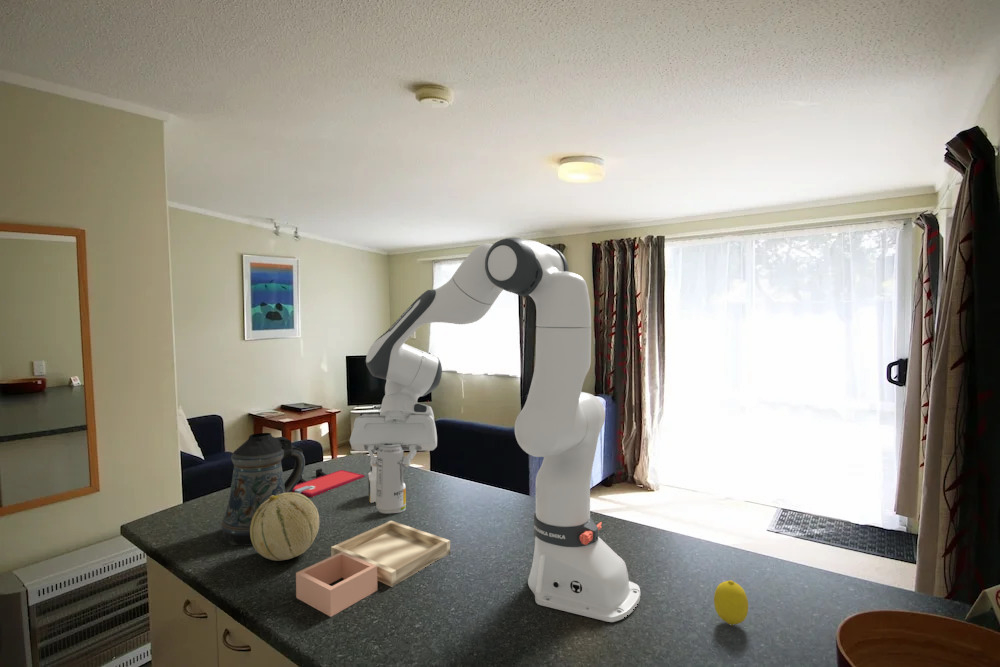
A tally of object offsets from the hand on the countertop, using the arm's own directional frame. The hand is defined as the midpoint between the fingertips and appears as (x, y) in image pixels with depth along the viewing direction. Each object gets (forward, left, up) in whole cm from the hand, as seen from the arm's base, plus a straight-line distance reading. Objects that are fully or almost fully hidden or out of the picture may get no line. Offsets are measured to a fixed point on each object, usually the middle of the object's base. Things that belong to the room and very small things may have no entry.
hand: (389, 465), depth 115 cm
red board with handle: (+58, -19, -22) cm, 64 cm away
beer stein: (+39, +9, -22) cm, 46 cm away
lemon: (-69, -17, -22) cm, 74 cm away
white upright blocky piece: (+31, -24, -22) cm, 45 cm away
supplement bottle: (+20, -20, -22) cm, 36 cm away
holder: (-3, +17, -21) cm, 27 cm away
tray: (0, 0, -21) cm, 21 cm away
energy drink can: (0, 0, -10) cm, 10 cm away
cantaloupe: (+20, +14, -22) cm, 33 cm away
